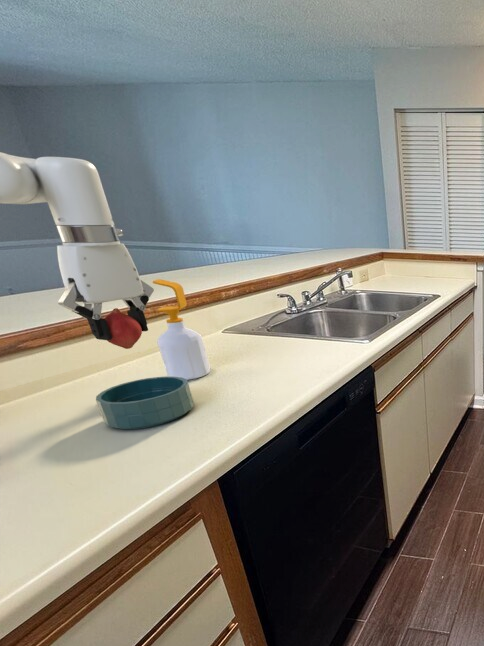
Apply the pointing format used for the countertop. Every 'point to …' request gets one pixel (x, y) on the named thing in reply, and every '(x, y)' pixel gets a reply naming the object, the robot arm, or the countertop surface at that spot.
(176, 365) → the soap bottle
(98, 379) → the countertop surface
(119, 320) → the onion
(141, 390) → the bowl
